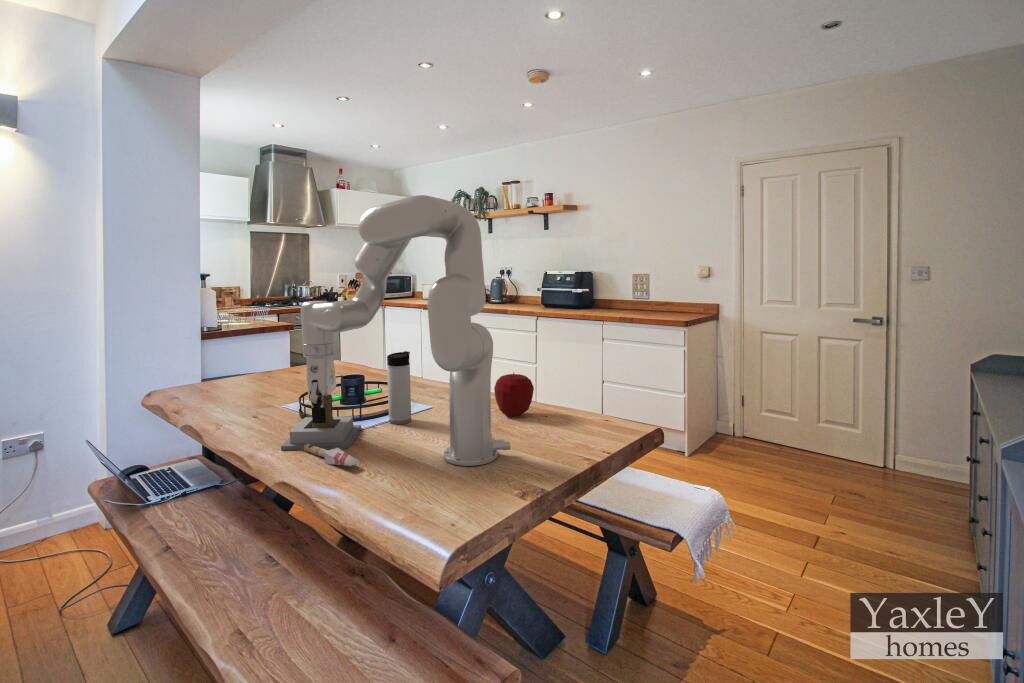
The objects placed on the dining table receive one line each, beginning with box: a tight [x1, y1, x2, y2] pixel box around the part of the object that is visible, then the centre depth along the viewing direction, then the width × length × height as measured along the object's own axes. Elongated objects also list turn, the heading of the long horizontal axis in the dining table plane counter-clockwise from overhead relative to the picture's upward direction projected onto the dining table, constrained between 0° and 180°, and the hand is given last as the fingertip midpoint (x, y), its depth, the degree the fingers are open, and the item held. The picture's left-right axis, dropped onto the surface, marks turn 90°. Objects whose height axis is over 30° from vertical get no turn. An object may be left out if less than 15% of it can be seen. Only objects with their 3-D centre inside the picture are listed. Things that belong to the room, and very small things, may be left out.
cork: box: [312, 393, 335, 428], centre depth 137 cm, size 6×6×11 cm
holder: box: [280, 416, 362, 451], centre depth 138 cm, size 16×16×4 cm
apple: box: [493, 372, 535, 419], centre depth 158 cm, size 12×12×13 cm
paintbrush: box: [303, 444, 361, 467], centre depth 123 cm, size 4×3×20 cm
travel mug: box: [386, 350, 412, 425], centre depth 152 cm, size 6×7×20 cm
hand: (322, 418), depth 138 cm, fingers open, 5 cm apart
